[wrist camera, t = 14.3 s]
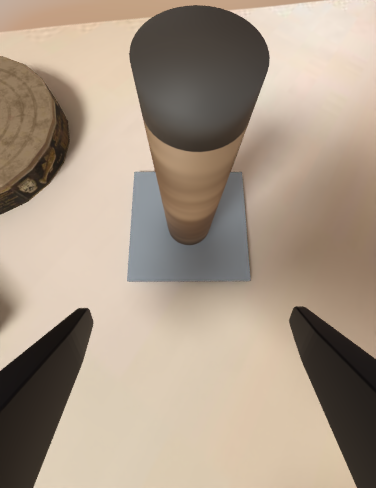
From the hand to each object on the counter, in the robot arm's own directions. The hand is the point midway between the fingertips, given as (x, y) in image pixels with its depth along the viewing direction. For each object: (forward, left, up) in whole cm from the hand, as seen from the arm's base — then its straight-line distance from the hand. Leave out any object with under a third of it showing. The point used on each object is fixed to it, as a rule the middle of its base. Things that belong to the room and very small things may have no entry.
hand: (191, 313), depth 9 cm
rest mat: (+5, -5, -8) cm, 11 cm away
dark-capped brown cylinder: (+5, -5, -7) cm, 10 cm away
